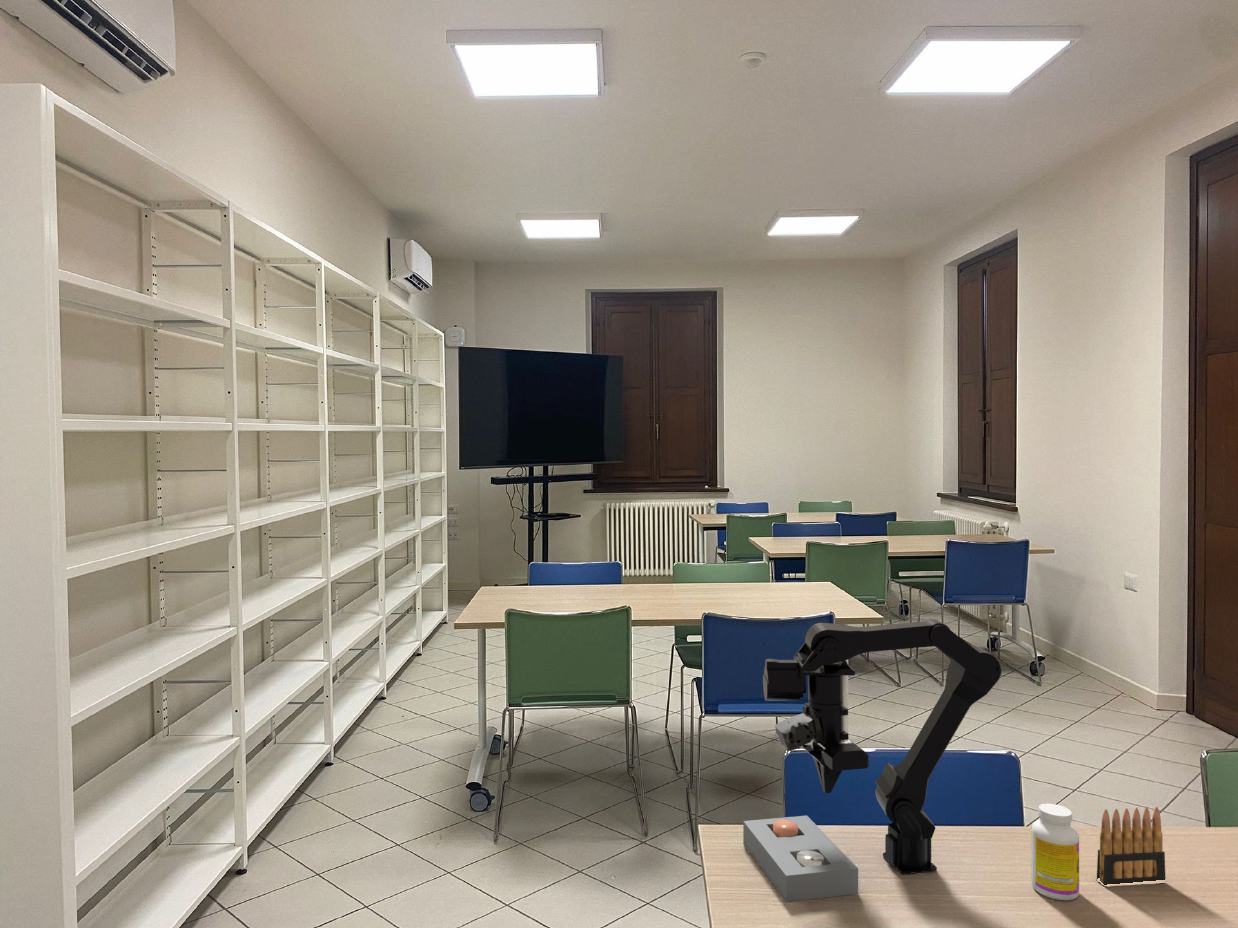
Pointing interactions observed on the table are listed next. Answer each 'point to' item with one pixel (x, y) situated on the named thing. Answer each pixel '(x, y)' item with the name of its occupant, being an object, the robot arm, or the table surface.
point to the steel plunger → (809, 858)
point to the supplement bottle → (1055, 853)
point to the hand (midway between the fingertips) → (827, 792)
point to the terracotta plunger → (785, 828)
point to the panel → (787, 872)
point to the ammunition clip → (1131, 848)
